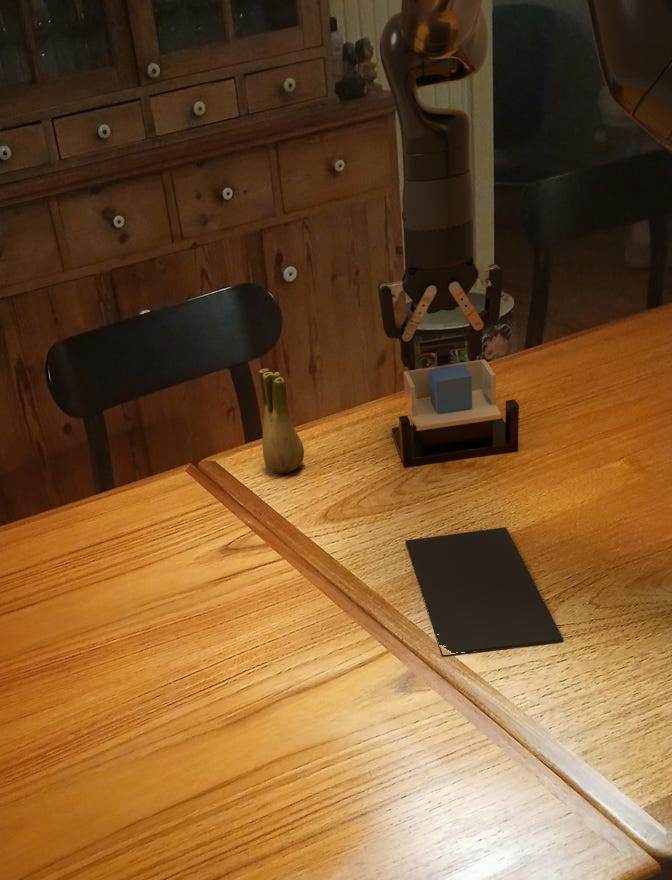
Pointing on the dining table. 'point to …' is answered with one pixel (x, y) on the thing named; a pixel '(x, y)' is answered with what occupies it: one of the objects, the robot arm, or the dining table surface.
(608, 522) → the dining table surface
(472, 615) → the mat
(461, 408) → the block
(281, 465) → the fennel bulb
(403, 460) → the stand
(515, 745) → the dining table surface
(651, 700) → the dining table surface
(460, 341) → the open storage bin
